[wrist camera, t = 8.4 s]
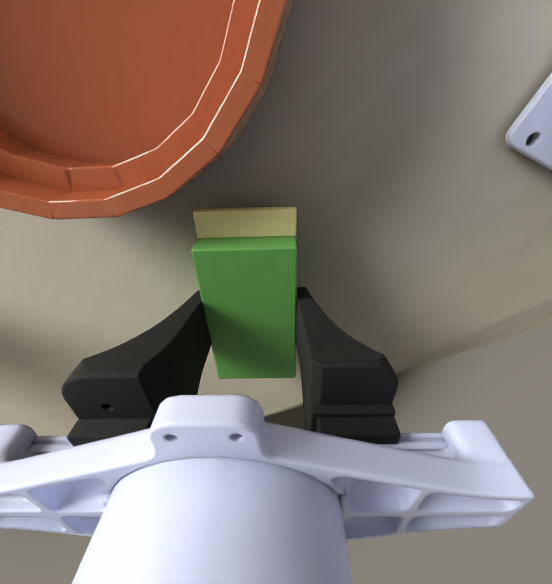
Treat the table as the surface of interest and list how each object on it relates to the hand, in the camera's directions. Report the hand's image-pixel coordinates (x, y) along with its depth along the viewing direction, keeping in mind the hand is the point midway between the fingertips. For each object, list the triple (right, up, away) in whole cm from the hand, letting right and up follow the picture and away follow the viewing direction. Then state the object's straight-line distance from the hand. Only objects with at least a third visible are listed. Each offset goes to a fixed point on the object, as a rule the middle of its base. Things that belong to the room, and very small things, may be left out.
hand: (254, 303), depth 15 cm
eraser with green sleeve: (0, +1, +1) cm, 1 cm away
